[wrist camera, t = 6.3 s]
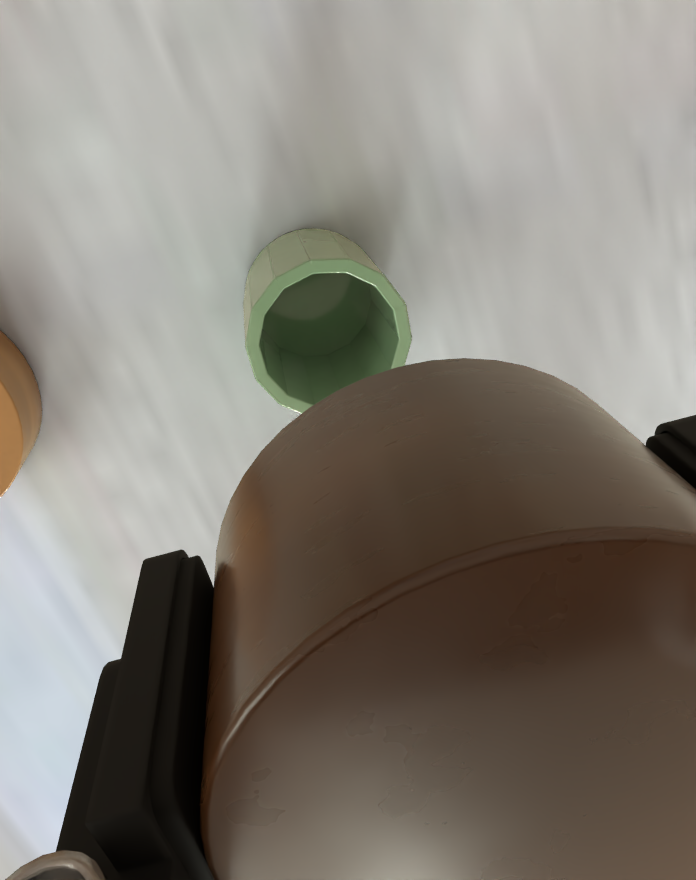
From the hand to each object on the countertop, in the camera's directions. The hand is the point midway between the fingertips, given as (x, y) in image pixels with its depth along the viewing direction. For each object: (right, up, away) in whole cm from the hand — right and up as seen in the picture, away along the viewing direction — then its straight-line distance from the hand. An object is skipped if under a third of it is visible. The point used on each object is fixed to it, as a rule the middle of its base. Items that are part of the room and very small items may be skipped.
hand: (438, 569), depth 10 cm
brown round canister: (0, 0, 0) cm, 0 cm away
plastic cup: (-3, +7, +14) cm, 16 cm away
